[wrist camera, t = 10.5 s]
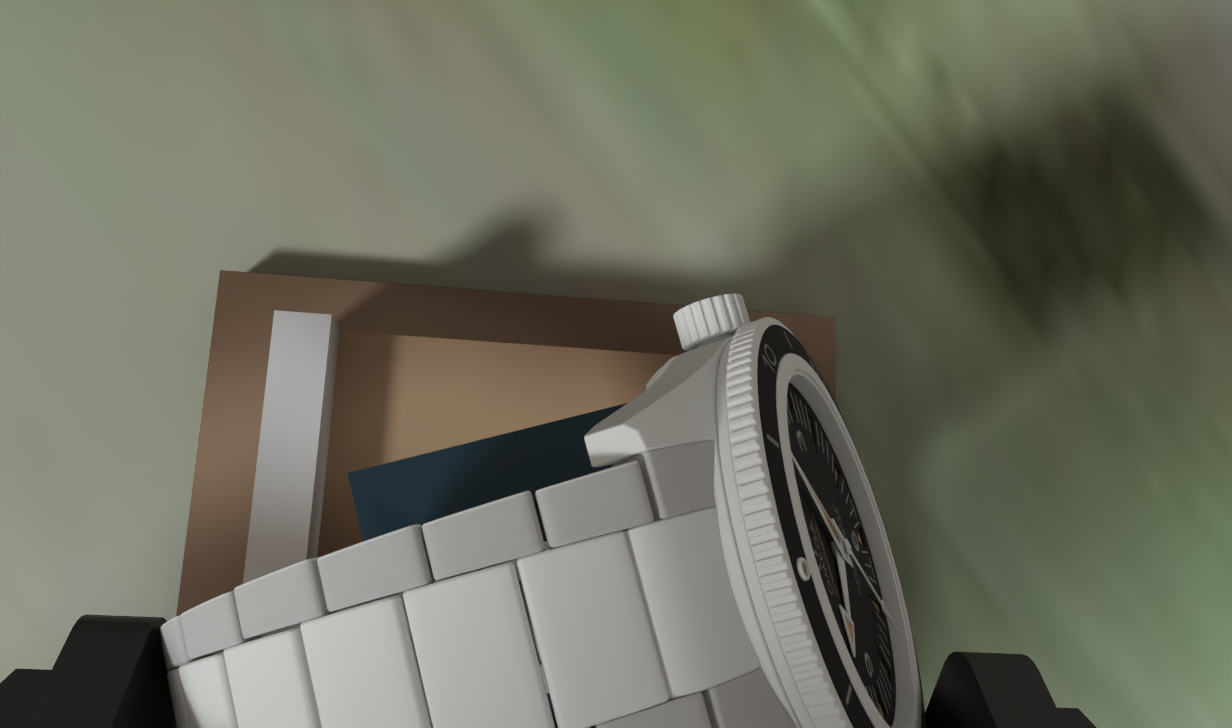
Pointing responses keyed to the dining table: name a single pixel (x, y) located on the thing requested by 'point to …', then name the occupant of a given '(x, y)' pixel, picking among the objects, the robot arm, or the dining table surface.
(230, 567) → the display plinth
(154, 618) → the robot arm
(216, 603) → the watch
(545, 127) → the dining table surface
